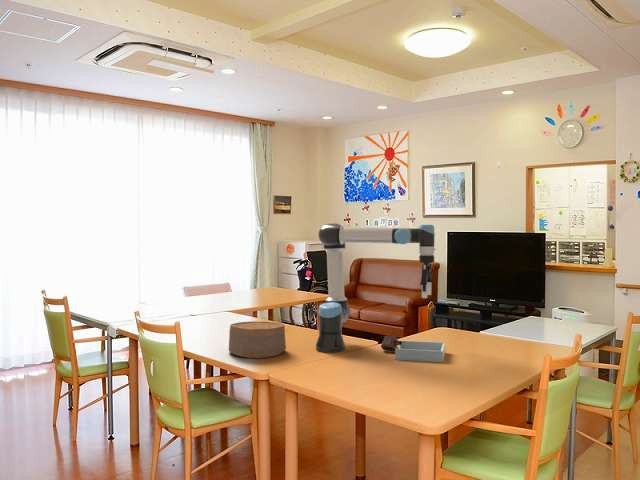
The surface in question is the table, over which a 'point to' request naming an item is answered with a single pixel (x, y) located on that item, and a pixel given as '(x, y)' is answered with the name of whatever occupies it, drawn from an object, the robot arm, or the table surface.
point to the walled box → (421, 351)
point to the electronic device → (390, 343)
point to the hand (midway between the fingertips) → (426, 296)
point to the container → (257, 339)
